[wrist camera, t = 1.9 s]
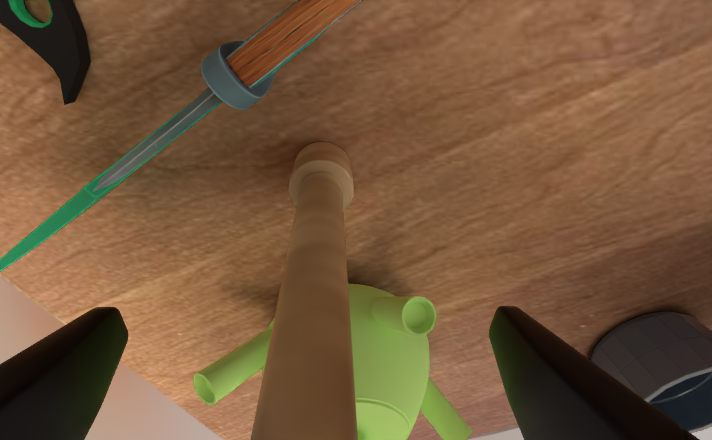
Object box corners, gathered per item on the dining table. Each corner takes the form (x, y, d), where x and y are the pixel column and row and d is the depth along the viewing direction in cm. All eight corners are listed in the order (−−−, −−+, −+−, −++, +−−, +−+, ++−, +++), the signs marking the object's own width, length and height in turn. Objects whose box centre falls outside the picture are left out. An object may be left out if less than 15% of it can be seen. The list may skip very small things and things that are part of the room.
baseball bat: (352, 142, 16) (402, 431, 5) (349, 195, 17) (383, 516, 6) (292, 140, 15) (190, 439, 4) (295, 194, 17) (222, 525, 6)
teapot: (299, 388, 25) (286, 536, 18) (218, 279, 19) (151, 433, 12) (443, 348, 24) (493, 490, 16) (402, 219, 18) (451, 351, 11)
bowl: (720, 306, 23) (798, 362, 19) (661, 378, 27) (715, 436, 24) (615, 307, 23) (673, 365, 19) (570, 380, 27) (610, 440, 23)
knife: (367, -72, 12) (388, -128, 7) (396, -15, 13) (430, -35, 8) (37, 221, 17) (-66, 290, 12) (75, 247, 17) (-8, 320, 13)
